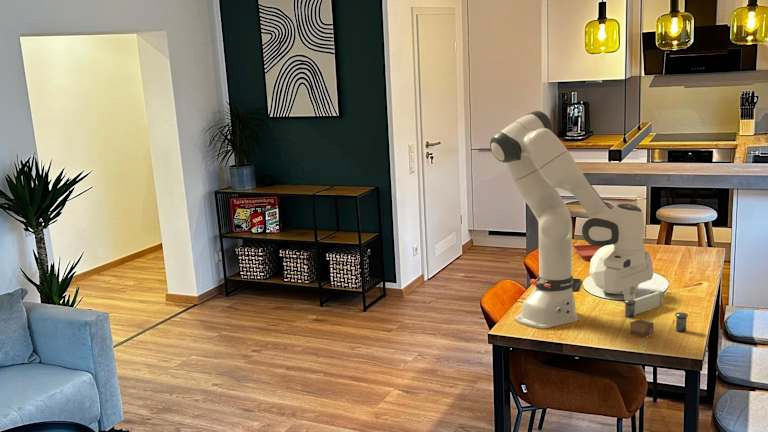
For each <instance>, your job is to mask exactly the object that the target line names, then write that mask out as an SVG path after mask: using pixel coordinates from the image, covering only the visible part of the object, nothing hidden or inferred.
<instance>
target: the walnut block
mask: <svg viewBox="0 0 768 432" xmlns="http://www.w3.org/2000/svg"><path fill="white" fill-rule="evenodd" d="M654 329H655V323H654V322H651V321H649V320H645V319H642V318H638V319H636V320H633V321H631V322H630V329H629V331H630V333H629V334H630V335H632V334H633V336H635V335H636V337H638V336H639V337H638V338H641V337H642V338H641V339H645V338H648V337H650V336H652V334H653V335H654V331H655V330H654ZM649 335H650V336H649ZM647 336H648V337H647Z"/></svg>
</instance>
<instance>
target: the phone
mask: <svg viewBox="0 0 768 432" xmlns="http://www.w3.org/2000/svg"><path fill="white" fill-rule="evenodd" d="M581 283H582V279H581V278H574V277H573V287H572V291H573V293H575V292H578V291H579V288H580V286H581Z"/></svg>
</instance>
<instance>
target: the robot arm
mask: <svg viewBox="0 0 768 432" xmlns="http://www.w3.org/2000/svg"><path fill="white" fill-rule="evenodd" d="M553 128H554V127H553V122H552V121H551V119H550V117H549V116H548V115H547V114H546V113H545V112H543V111H541V110H535V111H531V112H529V113H527V114H526V115H524V116H522V117H520V118H517V119H516V120H514V121H512V122H511V123H510V124H509V125H507V126H506V127H504V128H503V129H501V130H500V131H498V132H496V133H495V134H494V135H493V136H492V138H491V139H490V142H489V147H490V150H491V153H492V154H493V156H494V157H495V158H496V159H497V160H498V161H499V162H501V163H505V166H506V169H507V170H508V173H509V174H510V177H511V179H512V180H513V183H514V184H515V186H516V188H517V189H518V191H519V193H520V196H521V197H522V199H523V200H524V202H525V204H527V205H528V207H529V209H530V210H531V212H532V213H533V215H534V216H535V219H536V221H537V223H538V227H537V228H538V230H537V231H538V276H537V278H536V279H535V278H531V279H530V282H529V284H531V286H535V288H534V289H533V290H532V291H531V293H529V295H528V296H527V297H526V298H525V300H524V301H523V302H522V306H521V307H522V308H521V312H520V313H519V314H517V315H515V316H514V320H515V321H517V323H519V324H522V325H525V326H528V327H532V328H536V329H542V330H543V329H545V330H546V329H550V328H553V327H559V326H561V325H565V324H569V323H573V322H574V323H575V322H576V321H577V322H578V321H579V317H578V315H577V310H576V309H577V308H576V299H575V295H574V292H573V291H572V287H573V278H574V277H573V275H572V273H573V272H572V271H573V268H572V266H573V264H572V262H573V261H572V257H573V255H572V253H573V250H572V249H573V221H572V215H571V212H570V210H569V208H568V206H567V205H566V202H565V201H564V199H563V198H562V197H561V195H560V193H559V192H558V190H557V189H559V190H560V189H562V190H564V191H567V192H568V193H571V194H572V195H573V196H574V198H575V199H576V200H577V201H578V203H579V204H580V205H581V207H582V208H583V210H585V212H586V214H587V215H588V219H587V220H586V221H584V224H583V225H582V228H581V234H582V237H583V240H584V241H585V242H586V243H587V244H588V245H593V246H606V245H612V244H613V245H614V251H613V252H612V253H611V254H610V255H609V256H608V257H607V258H606V259H605V260H604V266H607V267H606V269H605V272H604V286H605V289H606V291H608V292H612V293H617V292H619V291H622V292H623V297H624V301H625V300H627V301H629V300H634V299H636V298H635V297H636V295H635V294H636V292H637V290H638V285H641V284H643V283H645V282H648V281H650V280H652V279H653V276H654V268H653V260H652V259H651V254H650V253H649V252H648V251H646V250H645V246H646V245H645V244H644V236H645V229H646V228H645V218H644V213H643V210H642V209H641V208H640V207H639V206H637V205H636V204H635V205H634V204H630V203H619V204H617V205H616V206H614V207H611V206H610V205H609V204H607V203H606V202H605V201H604V199H603V198H602V197H601V196H600V194H599V193H598V192H597V190H595V188H594V187H593V184H591V183H590V182H589V180H588V179H587V177H585V175H584V173H583V172H582V170H581V169H580V168H579V166H578V164H577V162H576V161H575V159H574V157H573V156H572V154H571V153H570V152H569V151H568V149H567V147H566V146H565V145H564V143H563V142H562V140H561V139H559V137H558V136H557V135H556V134H555V133H554V132H553ZM612 293H611V294H612Z"/></svg>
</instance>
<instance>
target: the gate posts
mask: <svg viewBox="0 0 768 432" xmlns="http://www.w3.org/2000/svg"><path fill="white" fill-rule="evenodd" d="M623 301H624V305H625V306H624V317H625V318H627V319H633V318H635V315H634V307H635V303H636V301H635V300H634V299H632V300H629V301H627V300H625V299H624V300H623ZM675 317H676V322H675V323H676V324H675V332H678V333H686V332H687V321H688V320H687V318H688V313H686V312H681V311H680V312H679V311H678V312H675Z"/></svg>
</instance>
